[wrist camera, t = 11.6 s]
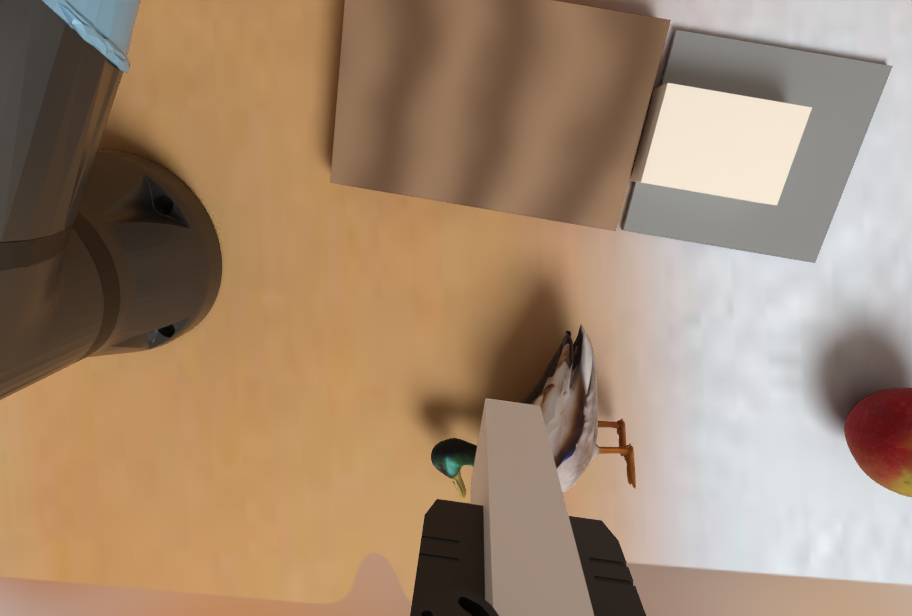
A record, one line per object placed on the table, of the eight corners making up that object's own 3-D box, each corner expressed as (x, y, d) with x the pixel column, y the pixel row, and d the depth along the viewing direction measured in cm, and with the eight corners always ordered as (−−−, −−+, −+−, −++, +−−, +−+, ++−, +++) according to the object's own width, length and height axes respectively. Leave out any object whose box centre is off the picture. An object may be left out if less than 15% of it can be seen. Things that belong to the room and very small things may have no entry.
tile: (630, 180, 33) (640, 182, 31) (654, 88, 32) (667, 82, 29) (756, 202, 33) (777, 205, 31) (788, 111, 32) (812, 107, 29)
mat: (621, 229, 35) (623, 230, 34) (674, 31, 31) (676, 29, 31) (811, 261, 35) (815, 262, 34) (887, 67, 31) (892, 66, 31)
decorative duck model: (424, 528, 36) (408, 344, 31) (442, 464, 43) (431, 306, 38) (633, 544, 33) (652, 348, 29) (615, 473, 41) (628, 307, 36)
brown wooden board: (338, 181, 35) (330, 182, 33) (355, -22, 31) (347, -35, 29) (608, 227, 35) (615, 231, 33) (659, 28, 31) (670, 20, 29)
